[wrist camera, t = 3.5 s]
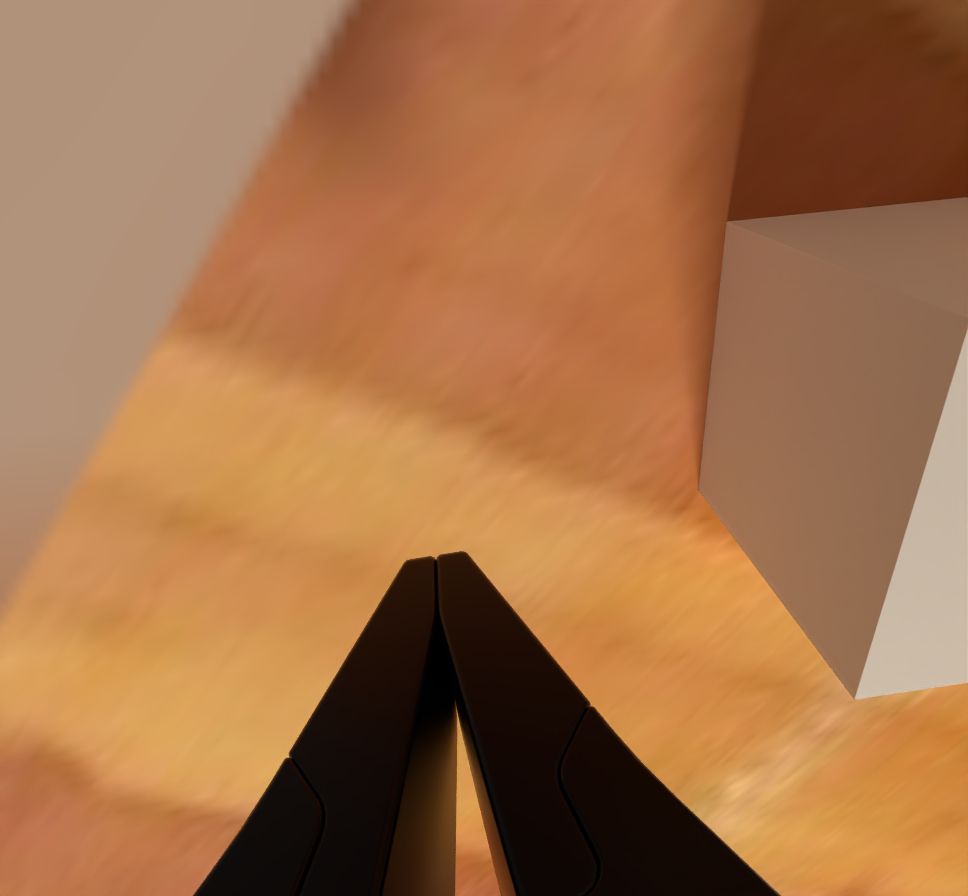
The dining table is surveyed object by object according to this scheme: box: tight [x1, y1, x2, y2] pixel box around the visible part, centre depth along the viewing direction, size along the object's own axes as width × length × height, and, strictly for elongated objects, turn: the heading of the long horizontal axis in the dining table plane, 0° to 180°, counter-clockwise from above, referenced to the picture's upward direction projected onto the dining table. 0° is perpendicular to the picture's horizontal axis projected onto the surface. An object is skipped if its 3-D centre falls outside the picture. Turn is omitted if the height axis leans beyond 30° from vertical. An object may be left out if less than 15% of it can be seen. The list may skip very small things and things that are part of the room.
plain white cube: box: [698, 197, 968, 700], centre depth 11 cm, size 6×6×6 cm
